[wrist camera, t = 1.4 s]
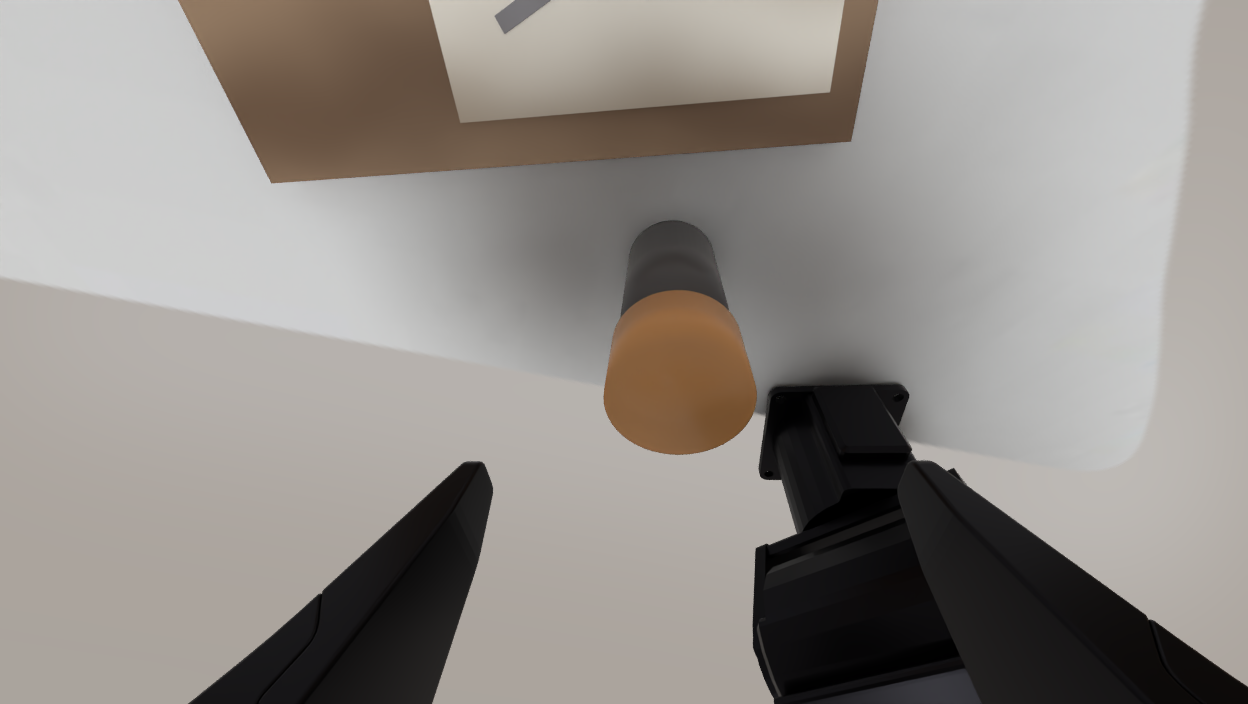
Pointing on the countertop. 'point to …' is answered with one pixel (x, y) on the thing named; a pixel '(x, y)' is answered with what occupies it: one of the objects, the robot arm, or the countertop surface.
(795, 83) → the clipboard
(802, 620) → the robot arm
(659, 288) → the black and orange cylinder
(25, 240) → the countertop surface
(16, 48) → the countertop surface
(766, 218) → the countertop surface
